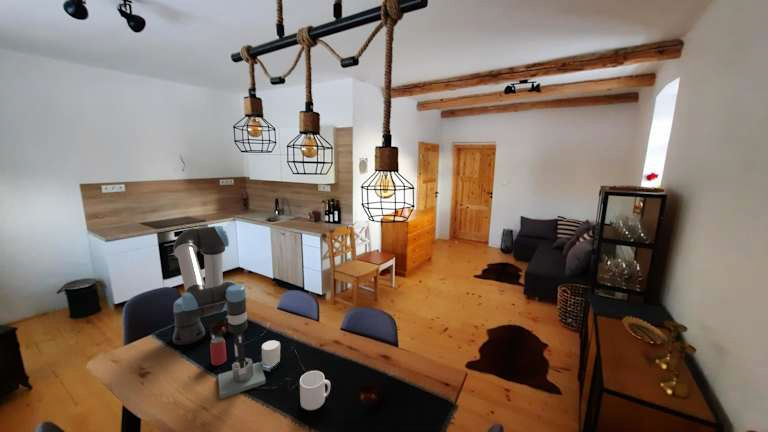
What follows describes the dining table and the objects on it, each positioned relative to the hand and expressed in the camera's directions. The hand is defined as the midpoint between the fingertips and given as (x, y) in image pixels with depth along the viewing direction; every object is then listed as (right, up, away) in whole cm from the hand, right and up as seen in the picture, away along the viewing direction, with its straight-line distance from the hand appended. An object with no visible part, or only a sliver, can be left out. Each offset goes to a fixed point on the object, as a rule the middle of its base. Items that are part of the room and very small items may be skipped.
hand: (240, 363), depth 135 cm
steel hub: (+1, -6, +1) cm, 6 cm away
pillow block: (0, -8, +1) cm, 8 cm away
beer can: (-17, -6, +14) cm, 23 cm away
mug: (+36, -11, -10) cm, 39 cm away
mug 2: (+9, -6, +16) cm, 19 cm away
